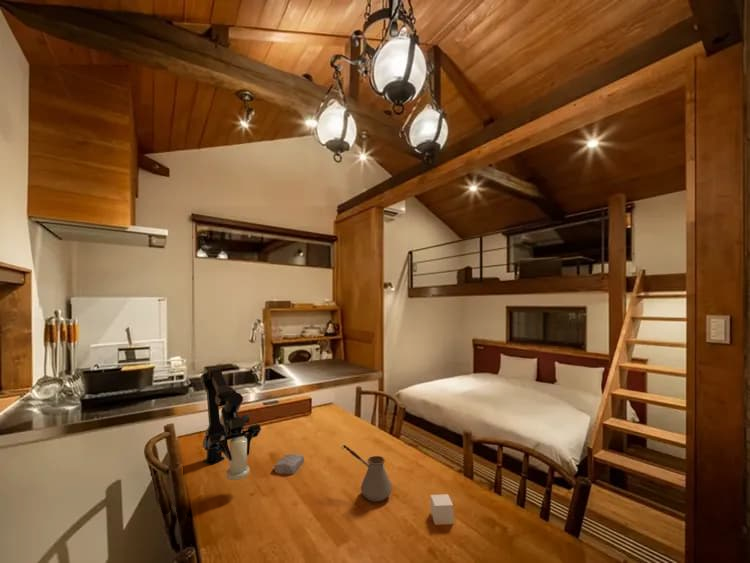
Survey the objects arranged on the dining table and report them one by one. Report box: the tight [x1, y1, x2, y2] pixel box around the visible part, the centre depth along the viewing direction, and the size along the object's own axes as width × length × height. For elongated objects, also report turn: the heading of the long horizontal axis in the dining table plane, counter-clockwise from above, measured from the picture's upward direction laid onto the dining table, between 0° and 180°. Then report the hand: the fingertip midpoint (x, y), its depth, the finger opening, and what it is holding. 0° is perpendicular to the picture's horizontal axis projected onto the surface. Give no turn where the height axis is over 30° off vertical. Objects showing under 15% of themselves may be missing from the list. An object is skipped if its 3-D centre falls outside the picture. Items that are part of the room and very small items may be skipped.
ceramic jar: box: [226, 436, 250, 481], centre depth 127 cm, size 8×8×12 cm
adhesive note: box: [430, 493, 454, 526], centre depth 112 cm, size 6×6×6 cm
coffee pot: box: [341, 444, 393, 503], centre depth 128 cm, size 21×12×15 cm, turn 58°
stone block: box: [274, 453, 305, 475], centre depth 146 cm, size 12×5×10 cm
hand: (239, 457), depth 126 cm, fingers closed on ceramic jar, 6 cm apart
